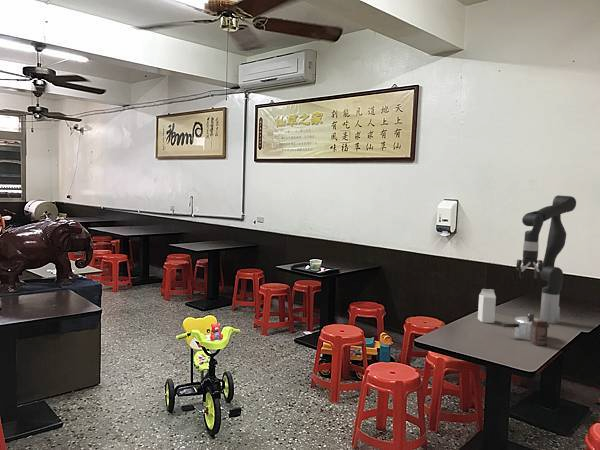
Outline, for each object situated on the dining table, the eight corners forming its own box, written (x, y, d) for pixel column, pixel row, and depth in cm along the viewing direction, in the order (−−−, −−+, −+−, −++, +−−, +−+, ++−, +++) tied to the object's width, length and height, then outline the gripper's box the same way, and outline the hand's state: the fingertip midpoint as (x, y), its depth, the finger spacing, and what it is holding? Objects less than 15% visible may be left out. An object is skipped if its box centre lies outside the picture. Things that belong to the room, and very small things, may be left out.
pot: (538, 332, 252) (539, 318, 251) (554, 341, 238) (556, 326, 237) (495, 332, 249) (496, 318, 249) (509, 341, 235) (510, 325, 235)
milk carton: (494, 323, 268) (496, 290, 267) (481, 322, 268) (484, 290, 267) (489, 319, 275) (491, 288, 274) (477, 319, 275) (479, 287, 274)
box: (541, 342, 234) (543, 319, 233) (546, 345, 230) (548, 322, 229) (530, 342, 234) (531, 319, 233) (535, 345, 229) (537, 321, 228)
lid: (534, 318, 252) (535, 310, 251) (553, 326, 237) (553, 317, 236) (509, 317, 250) (509, 310, 249) (525, 326, 235) (526, 317, 235)
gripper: (538, 249, 263) (536, 277, 264) (514, 248, 261) (512, 276, 262) (546, 250, 255) (544, 279, 256) (522, 250, 254) (520, 279, 255)
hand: (528, 278), depth 259 cm, fingers open, 8 cm apart
